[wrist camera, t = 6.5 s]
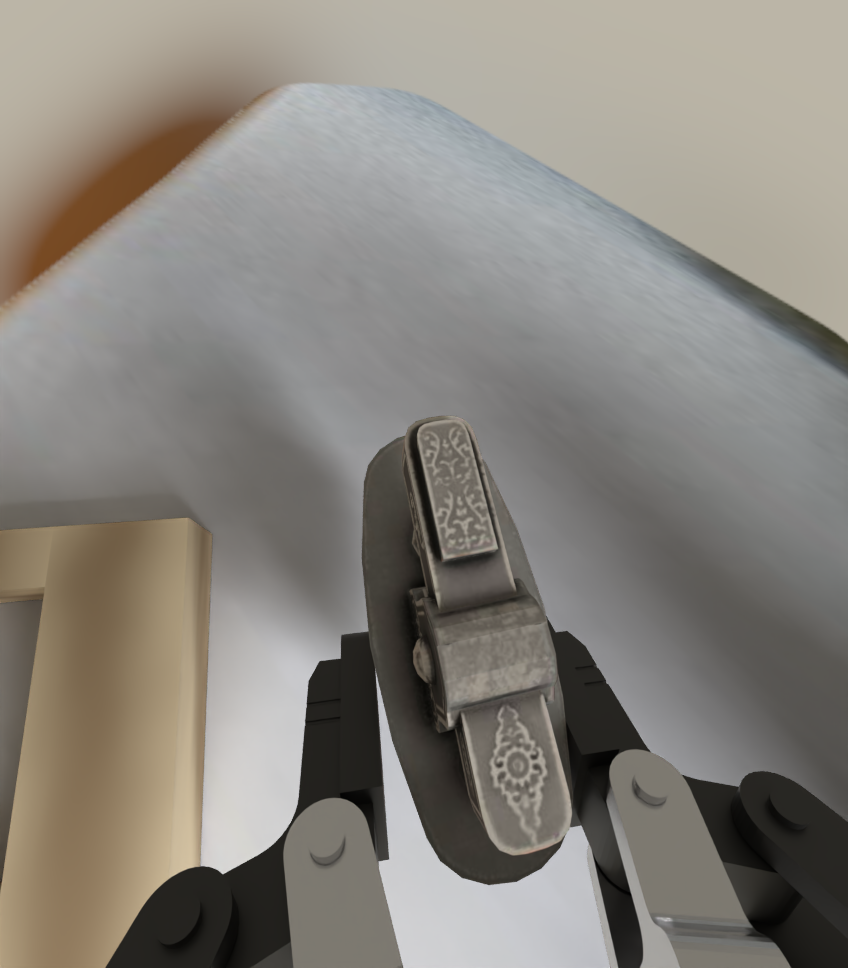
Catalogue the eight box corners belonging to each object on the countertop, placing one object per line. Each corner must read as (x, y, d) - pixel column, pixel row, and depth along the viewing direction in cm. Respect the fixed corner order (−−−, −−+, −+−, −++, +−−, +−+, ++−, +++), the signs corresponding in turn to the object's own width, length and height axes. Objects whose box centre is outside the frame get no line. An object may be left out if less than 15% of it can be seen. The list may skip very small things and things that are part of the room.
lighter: (499, 751, 15) (717, 946, 5) (394, 779, 14) (433, 1050, 5) (444, 510, 17) (529, 353, 8) (353, 527, 17) (324, 378, 7)
